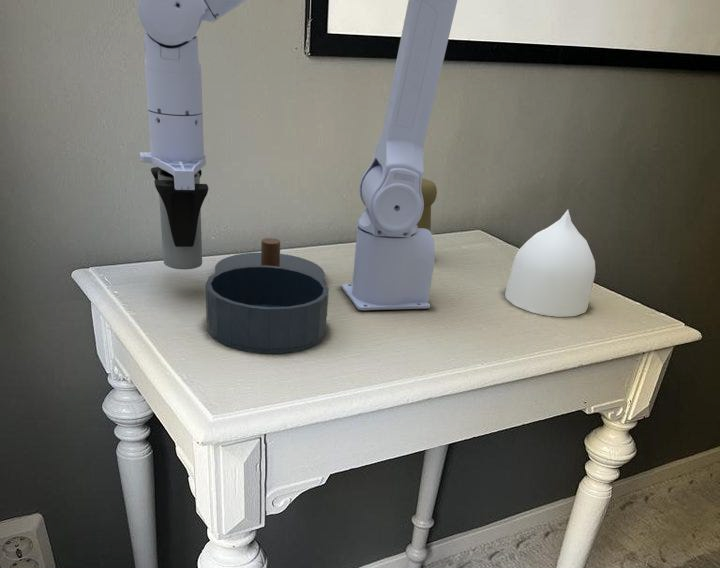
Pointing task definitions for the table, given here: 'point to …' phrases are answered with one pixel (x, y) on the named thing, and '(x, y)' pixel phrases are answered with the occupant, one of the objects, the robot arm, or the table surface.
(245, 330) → the pan
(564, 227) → the teardrop
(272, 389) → the table surface
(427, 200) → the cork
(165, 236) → the gray hollow cylinder
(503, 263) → the table surface
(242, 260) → the pan lid
